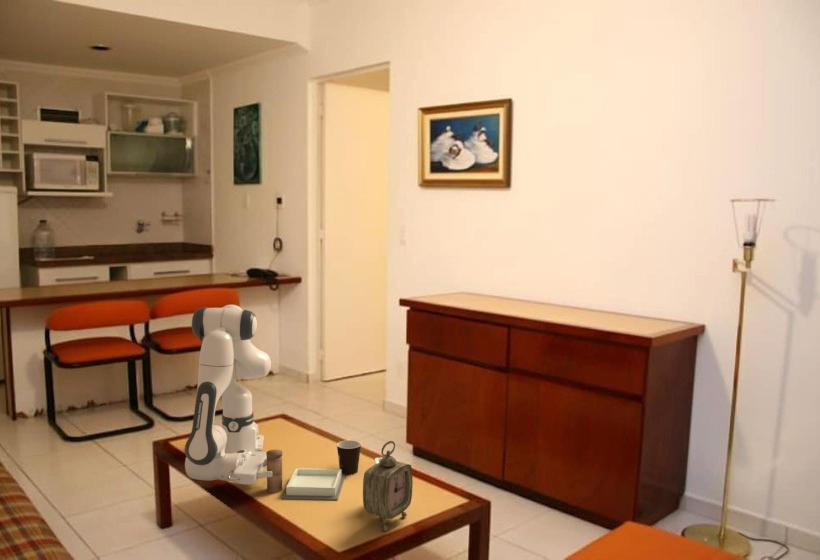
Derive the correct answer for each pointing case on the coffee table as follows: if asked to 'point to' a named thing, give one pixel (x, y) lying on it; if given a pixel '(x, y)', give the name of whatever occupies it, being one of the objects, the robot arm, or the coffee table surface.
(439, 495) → the coffee table surface
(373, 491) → the tabletop clock
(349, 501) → the coffee table surface
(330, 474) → the dish
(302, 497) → the mat
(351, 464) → the coffee mug
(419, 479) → the coffee table surface
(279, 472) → the canister
